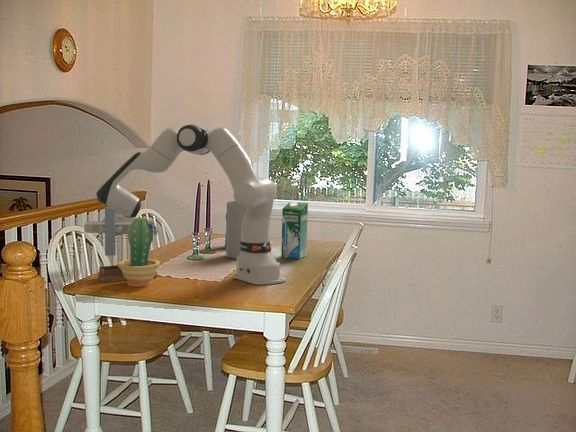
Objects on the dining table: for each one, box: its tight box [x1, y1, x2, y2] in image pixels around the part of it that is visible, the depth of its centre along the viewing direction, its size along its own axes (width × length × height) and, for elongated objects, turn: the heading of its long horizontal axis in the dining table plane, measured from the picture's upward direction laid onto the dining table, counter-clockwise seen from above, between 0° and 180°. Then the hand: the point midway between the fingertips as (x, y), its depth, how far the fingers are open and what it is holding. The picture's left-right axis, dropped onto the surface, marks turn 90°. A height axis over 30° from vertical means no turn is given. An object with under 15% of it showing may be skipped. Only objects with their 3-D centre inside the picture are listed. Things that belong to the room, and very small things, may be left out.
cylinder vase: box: [225, 200, 246, 260], centre depth 303 cm, size 12×12×25 cm
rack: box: [97, 265, 158, 283], centre depth 257 cm, size 7×21×4 cm, turn 120°
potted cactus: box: [117, 216, 161, 288], centre depth 247 cm, size 15×15×25 cm
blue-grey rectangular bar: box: [104, 206, 117, 257], centre depth 252 cm, size 4×4×18 cm
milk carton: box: [280, 201, 309, 260], centre depth 306 cm, size 9×9×25 cm
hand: (110, 230), depth 251 cm, fingers closed on blue-grey rectangular bar, 4 cm apart
